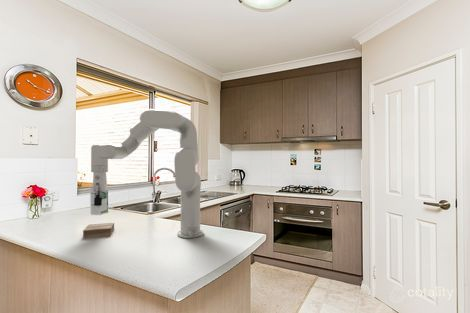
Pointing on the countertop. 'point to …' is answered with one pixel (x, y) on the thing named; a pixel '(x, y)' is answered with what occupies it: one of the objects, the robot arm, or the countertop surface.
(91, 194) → the syrup box
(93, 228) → the walnut block
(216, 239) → the countertop surface
